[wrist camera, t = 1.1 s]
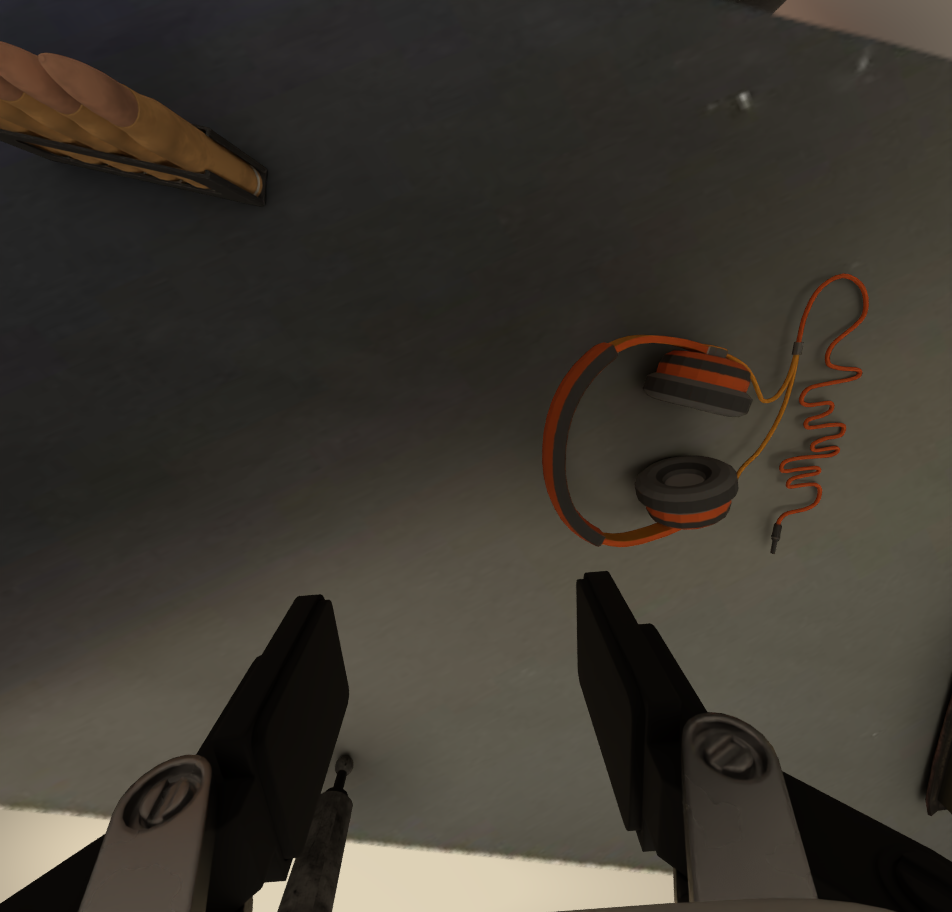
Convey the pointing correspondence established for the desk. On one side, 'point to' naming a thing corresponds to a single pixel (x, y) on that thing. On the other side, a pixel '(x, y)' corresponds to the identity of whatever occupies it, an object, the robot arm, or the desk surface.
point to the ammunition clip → (115, 129)
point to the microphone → (321, 850)
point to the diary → (941, 770)
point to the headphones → (686, 477)
